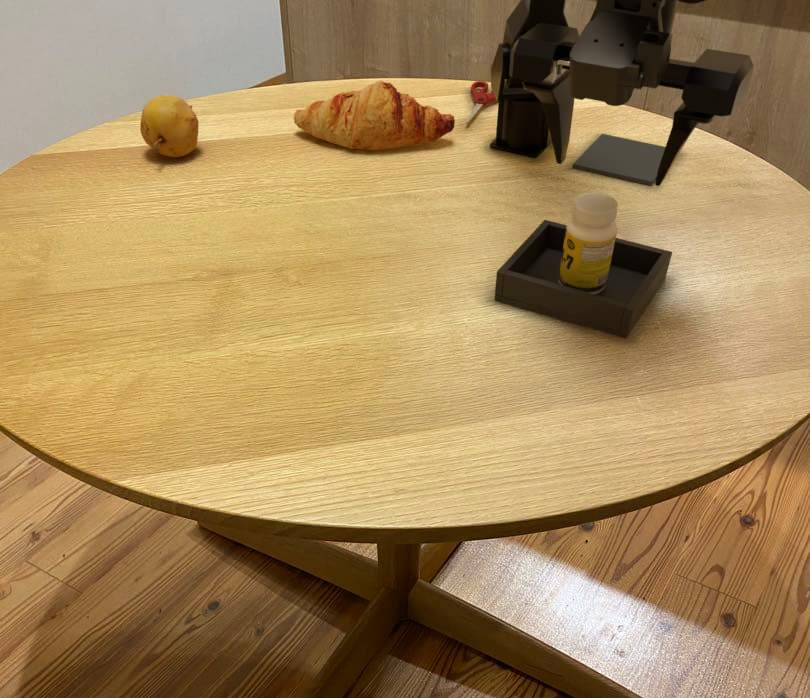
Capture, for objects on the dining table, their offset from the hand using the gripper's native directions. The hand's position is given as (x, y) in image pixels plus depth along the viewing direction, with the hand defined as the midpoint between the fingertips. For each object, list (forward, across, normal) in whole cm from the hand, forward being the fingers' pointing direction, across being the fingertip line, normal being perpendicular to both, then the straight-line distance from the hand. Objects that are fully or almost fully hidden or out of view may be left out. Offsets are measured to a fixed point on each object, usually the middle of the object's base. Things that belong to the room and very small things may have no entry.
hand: (608, 173), depth 71 cm
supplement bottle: (+11, 0, -1) cm, 11 cm away
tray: (+11, 0, -1) cm, 11 cm away
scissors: (+11, -29, +35) cm, 47 cm away
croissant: (+11, -37, +20) cm, 44 cm away
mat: (+11, -6, +29) cm, 32 cm away
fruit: (+11, -57, +5) cm, 59 cm away
